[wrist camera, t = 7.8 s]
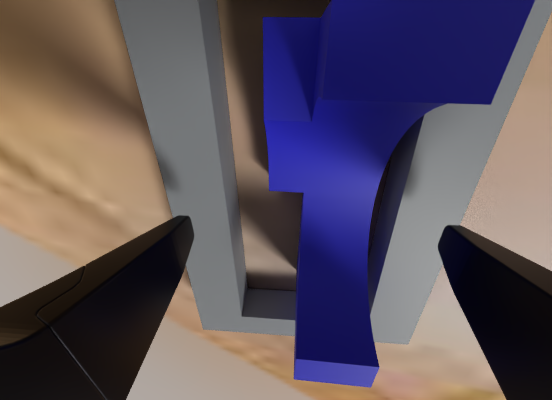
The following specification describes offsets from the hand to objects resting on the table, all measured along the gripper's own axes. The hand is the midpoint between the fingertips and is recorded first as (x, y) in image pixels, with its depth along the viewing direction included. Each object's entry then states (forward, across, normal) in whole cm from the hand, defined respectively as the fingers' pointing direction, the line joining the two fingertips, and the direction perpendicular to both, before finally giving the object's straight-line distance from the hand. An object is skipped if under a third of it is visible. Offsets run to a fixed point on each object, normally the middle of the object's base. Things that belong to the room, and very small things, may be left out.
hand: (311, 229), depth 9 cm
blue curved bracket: (+4, 0, 0) cm, 4 cm away
